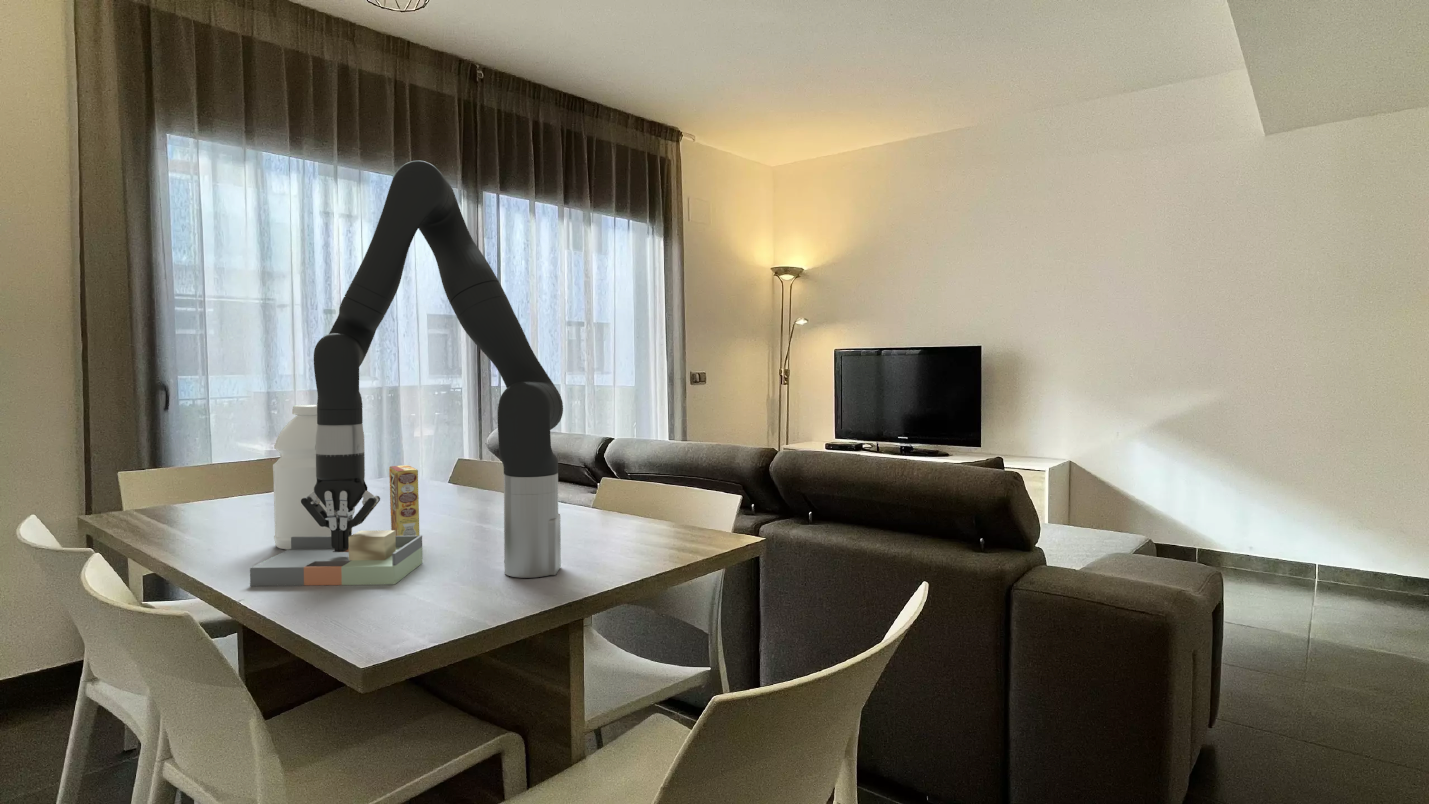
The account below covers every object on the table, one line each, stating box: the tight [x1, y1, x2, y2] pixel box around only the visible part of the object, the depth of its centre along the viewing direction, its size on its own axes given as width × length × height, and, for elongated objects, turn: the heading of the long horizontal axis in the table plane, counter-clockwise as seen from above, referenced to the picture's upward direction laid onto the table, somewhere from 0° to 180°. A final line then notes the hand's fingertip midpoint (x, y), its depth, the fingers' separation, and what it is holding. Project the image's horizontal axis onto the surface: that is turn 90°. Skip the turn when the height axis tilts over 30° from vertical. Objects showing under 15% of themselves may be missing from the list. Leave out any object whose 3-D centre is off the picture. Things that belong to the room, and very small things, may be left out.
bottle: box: [272, 404, 331, 551], centre depth 155 cm, size 14×14×28 cm
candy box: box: [388, 464, 421, 536], centre depth 156 cm, size 9×4×15 cm, turn 33°
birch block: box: [348, 529, 396, 560], centre depth 132 cm, size 6×5×4 cm
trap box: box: [249, 535, 423, 587], centre depth 132 cm, size 23×14×5 cm, turn 93°
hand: (341, 550), depth 132 cm, fingers closed
